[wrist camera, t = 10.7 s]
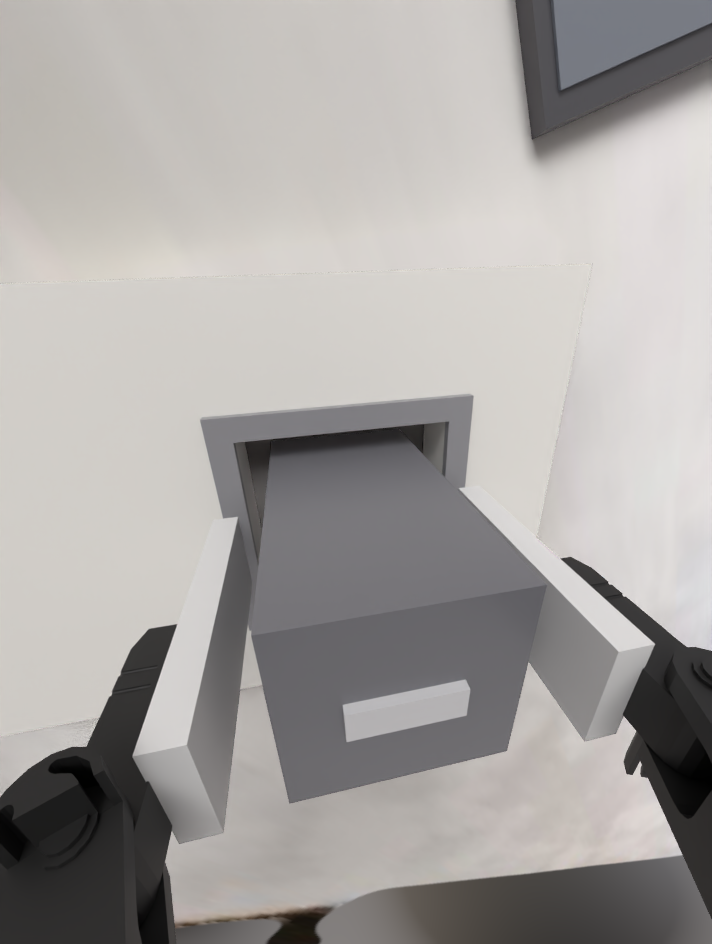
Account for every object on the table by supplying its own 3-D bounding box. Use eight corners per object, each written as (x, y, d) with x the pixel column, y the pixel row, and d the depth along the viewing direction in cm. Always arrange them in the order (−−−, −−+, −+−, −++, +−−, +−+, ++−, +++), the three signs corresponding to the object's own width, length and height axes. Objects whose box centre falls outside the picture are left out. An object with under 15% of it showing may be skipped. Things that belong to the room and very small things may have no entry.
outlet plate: (0, 695, 16) (-42, 752, 14) (-284, 300, 9) (-448, 296, 7) (495, 605, 19) (520, 640, 17) (549, 270, 13) (600, 262, 11)
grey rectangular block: (287, 548, 16) (289, 815, 7) (271, 440, 14) (249, 646, 5) (397, 533, 16) (511, 760, 8) (398, 428, 14) (555, 593, 6)
